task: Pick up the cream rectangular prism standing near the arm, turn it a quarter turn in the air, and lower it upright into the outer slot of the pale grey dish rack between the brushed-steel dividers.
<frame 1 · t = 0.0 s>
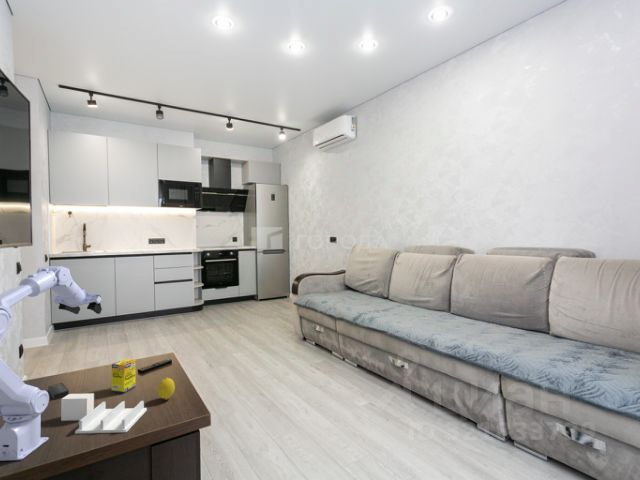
hand: (89, 311, 119), 32 cm above the table, tool tilted 50°, fingers open, 7 cm apart
dish rack: (113, 421, 105), on the table
cream rectangular prism: (77, 417, 108), on the table
multiport hub: (58, 395, 124), on the table
supplement box: (123, 390, 128), on the table
lemon: (166, 400, 120), on the table
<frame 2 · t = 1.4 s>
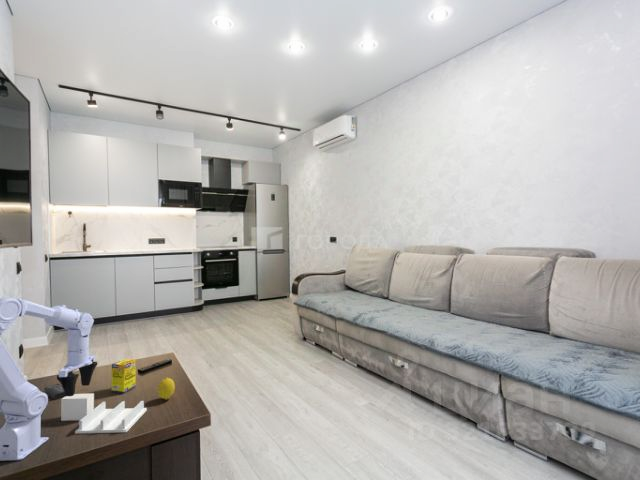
hand: (78, 390, 108), 9 cm above the table, tool pointing down, fingers open, 7 cm apart
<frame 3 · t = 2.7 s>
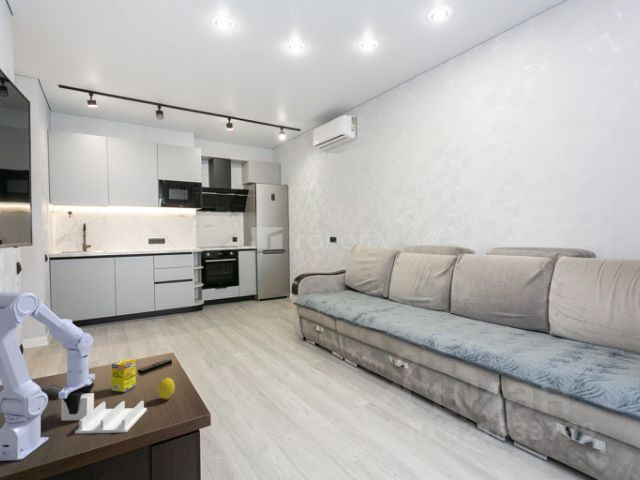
hand: (77, 410, 108), 2 cm above the table, tool pointing down, fingers closed on cream rectangular prism, 3 cm apart
cream rectangular prism: (77, 417, 108), on the table, touching gripper
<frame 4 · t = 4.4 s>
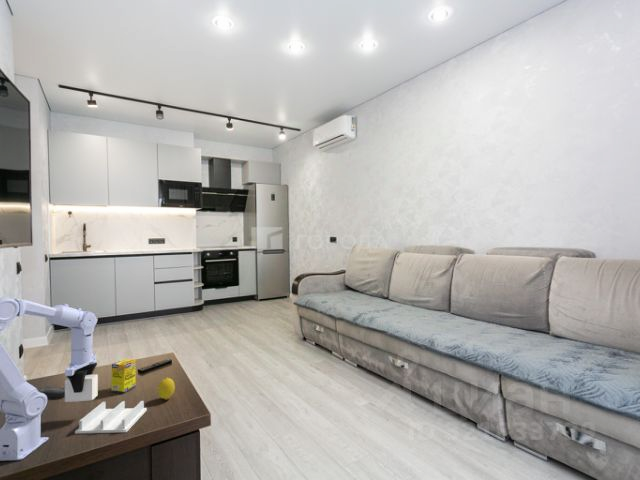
hand: (81, 389, 107), 9 cm above the table, tool pointing down, fingers closed on cream rectangular prism, 3 cm apart
cream rectangular prism: (81, 398, 107), point 6 cm above the table, touching gripper
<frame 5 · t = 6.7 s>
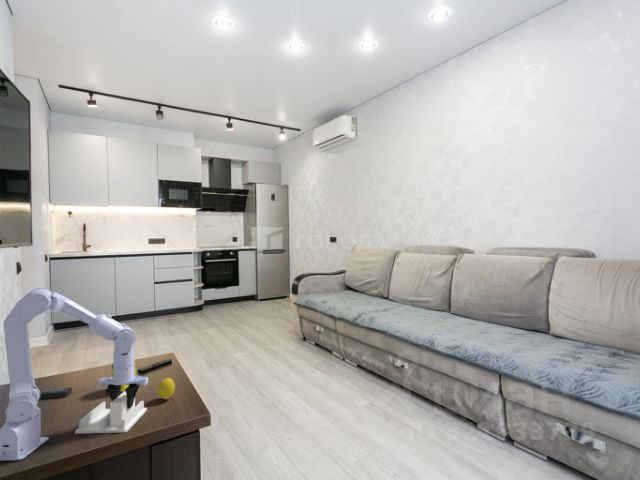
hand: (123, 407, 105), 4 cm above the table, tool pointing down, fingers closed on cream rectangular prism, 3 cm apart
cream rectangular prism: (122, 418, 105), point 1 cm above the table, touching dish rack, gripper
when the fingers open (4 cm above the table, at t = 7.1 s): cream rectangular prism stays where it is, resting on dish rack.
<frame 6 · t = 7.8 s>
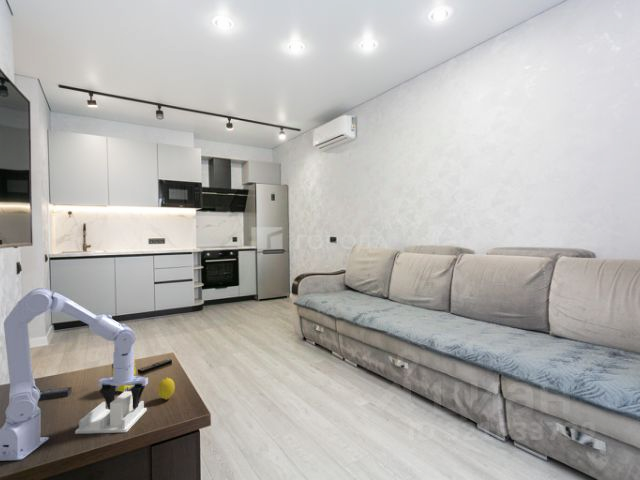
hand: (123, 407, 105), 4 cm above the table, tool pointing down, fingers open, 7 cm apart
cream rectangular prism: (122, 418, 105), point 1 cm above the table, touching dish rack
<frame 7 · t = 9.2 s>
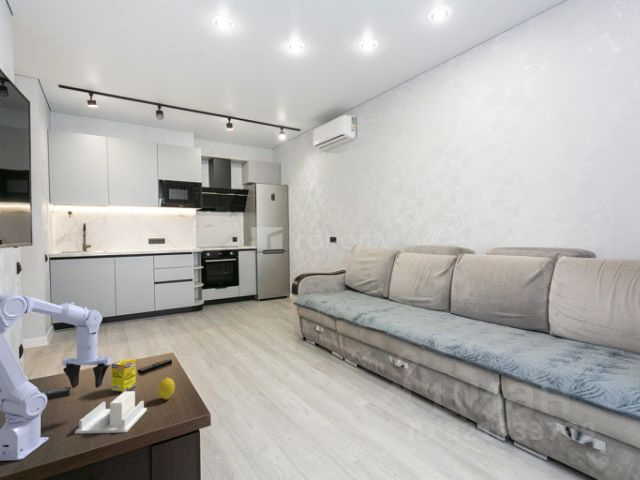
hand: (86, 386, 109), 9 cm above the table, tool pointing down, fingers open, 7 cm apart
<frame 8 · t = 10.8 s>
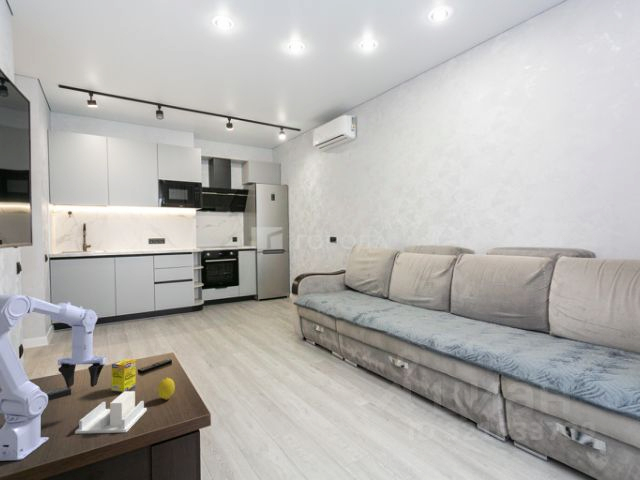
hand: (82, 385, 110), 9 cm above the table, tool pointing down, fingers open, 7 cm apart
at the end: cream rectangular prism 0.3 cm from the target spot on the dish rack, point 0.8 cm above the dish rack's base; cream rectangular prism tilted 0°; the gripper is holding nothing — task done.
